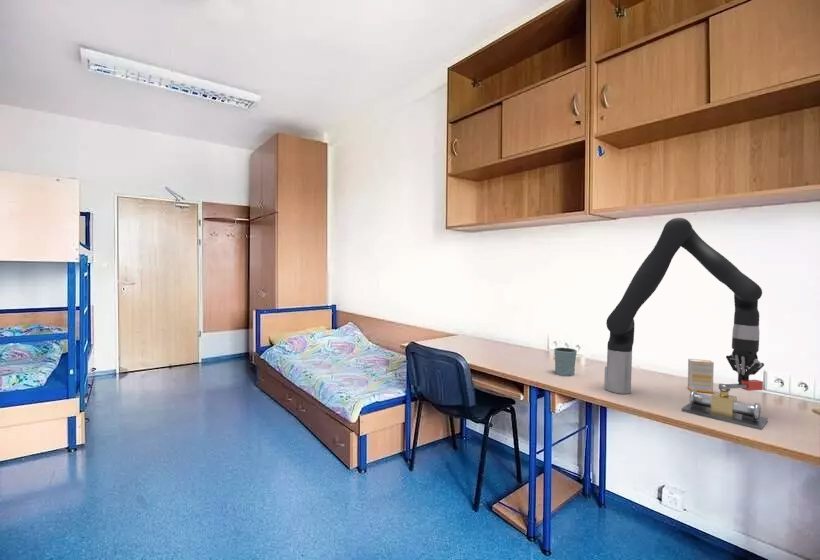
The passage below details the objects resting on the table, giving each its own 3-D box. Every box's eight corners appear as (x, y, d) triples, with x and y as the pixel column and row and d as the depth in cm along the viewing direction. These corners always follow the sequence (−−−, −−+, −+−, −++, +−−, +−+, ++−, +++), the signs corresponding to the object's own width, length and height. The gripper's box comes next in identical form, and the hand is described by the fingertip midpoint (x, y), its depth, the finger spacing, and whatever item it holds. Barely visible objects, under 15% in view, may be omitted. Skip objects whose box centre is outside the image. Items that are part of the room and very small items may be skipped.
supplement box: (710, 390, 174) (711, 360, 173) (713, 393, 169) (714, 362, 169) (687, 388, 177) (688, 358, 177) (689, 391, 173) (690, 360, 172)
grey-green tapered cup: (572, 372, 202) (573, 347, 202) (578, 377, 192) (579, 352, 192) (551, 371, 203) (552, 347, 203) (556, 376, 193) (557, 351, 193)
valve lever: (724, 391, 141) (725, 383, 141) (716, 389, 144) (716, 380, 144) (763, 390, 144) (763, 381, 143) (754, 387, 147) (754, 379, 147)
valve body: (681, 411, 147) (682, 386, 147) (691, 404, 155) (692, 380, 155) (761, 429, 131) (762, 401, 130) (767, 421, 139) (768, 394, 138)
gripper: (720, 334, 153) (717, 379, 154) (754, 340, 140) (751, 390, 141) (737, 334, 154) (735, 379, 155) (773, 340, 141) (770, 390, 142)
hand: (743, 384), depth 148 cm, fingers closed
